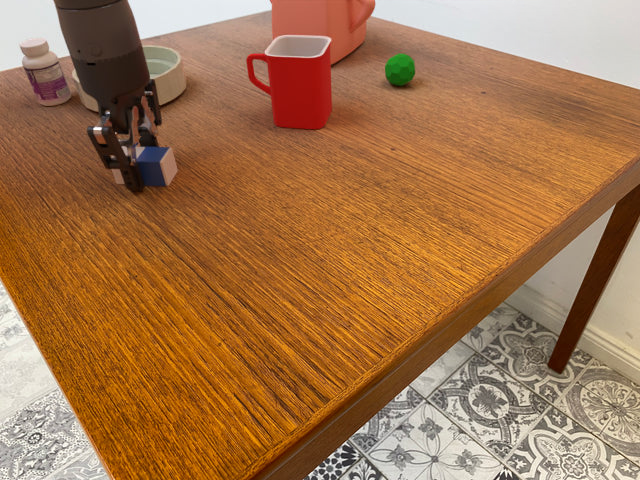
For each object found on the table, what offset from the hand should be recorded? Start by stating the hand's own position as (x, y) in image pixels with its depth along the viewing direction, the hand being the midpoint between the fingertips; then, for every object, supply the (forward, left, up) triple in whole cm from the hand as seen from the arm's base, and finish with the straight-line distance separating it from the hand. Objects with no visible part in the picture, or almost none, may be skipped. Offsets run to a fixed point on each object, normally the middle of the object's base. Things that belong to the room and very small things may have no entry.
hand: (145, 175), depth 67 cm
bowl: (-12, +25, 0) cm, 28 cm away
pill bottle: (-25, +22, -1) cm, 33 cm away
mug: (+16, +18, -1) cm, 24 cm away
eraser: (0, 0, 0) cm, 0 cm away
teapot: (+18, +47, -1) cm, 50 cm away
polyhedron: (+32, +30, -1) cm, 44 cm away
